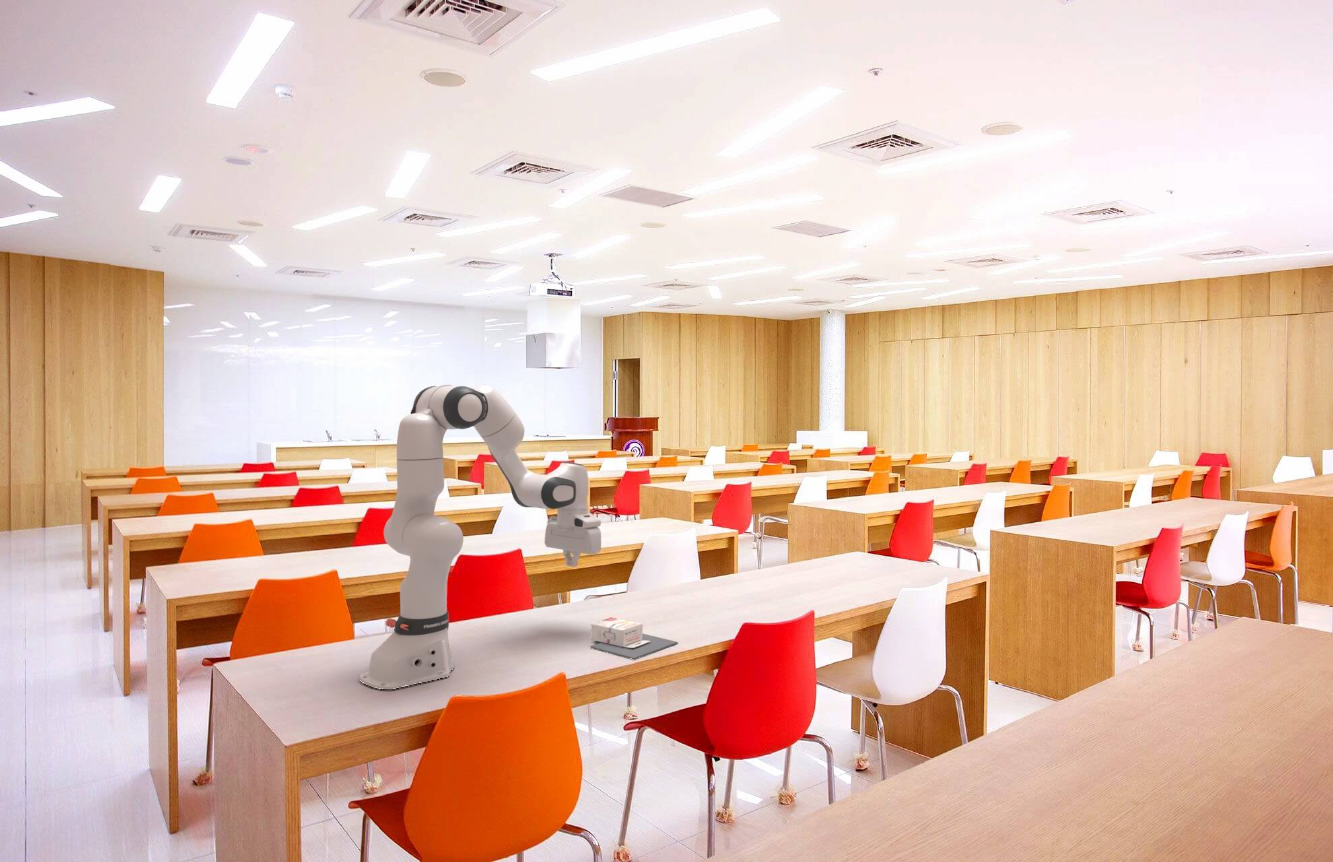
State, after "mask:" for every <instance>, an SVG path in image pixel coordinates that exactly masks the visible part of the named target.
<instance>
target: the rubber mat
mask: <svg viewBox="0 0 1333 862" xmlns="http://www.w3.org/2000/svg"><path fill="white" fill-rule="evenodd" d="M642 640H647V641H650V642H648V643H646V644H643V645H640V646H637V647H635V648H627V647H620V646H616V645H612V644H607V643H603V642H598V643H595V644H592V645H590V646H589V648H590V647H591V648H590V649H592V648H594V649H593V650H596V649H599V650H601V651H600V652H602V653H603V652H604V653H607V652H608V653H607V654H610V653H611V655H614V654H615V655H616V656H618V657H621V656H623V657H622V658H625V657H626V659H629V658H632V659H635V660H637V659H636V658H638V659H640V658H639V657H641V658H643V657H646V656H648V654H649V655H651V654H654V653H657V652H660V651H663V650H665V649H667V648H670V647H673V646H676V645H678V644H679V642H678V641H675V640H671V639H668V638H667V639H666V638H664V637H659V636H654V635H650V634H646V633H643V632H642ZM639 644H640V643H639ZM636 645H637V644H636ZM599 650H598V651H599ZM615 655H614V656H615ZM642 656H643V657H642ZM632 659H631V660H632Z"/></svg>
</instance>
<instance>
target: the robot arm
mask: <svg viewBox="0 0 1333 862" xmlns="http://www.w3.org/2000/svg"><path fill="white" fill-rule="evenodd" d="M473 427H474V428H475V431H476V432H477V433H478V434H479V436H480V437H481V439H482V440H483V442H484V443H485V445H486V446H487V448H488V450H489V453H490V455H491V457H492V458H493V460H494V462H495V463H496V464H497V466H498V467H499V469H500V471H501V472H502V474H503V475H504V477H505V479H506V481H507V483H508V484H509V488H510V491H511V495H512V498H513V500H514V501H515V503H516V504H518V505H519V506H521V507H522V508H536V509H541V510H543V509H544V510H557V511H556V512H557V513H556V515H551V516H550V517H549V518H547V522H546V523H547V525H546V527H545V533H544V545H545V546H546V548H552V549H557V550H562V554H563V557H564V559H565V566H567V567H572V568H576V567H577V566H578V561H579V558H580V557H581V556H582V555H581V554H585V555H586V554H587V555H596V554H599V553H600V551H601V550H602V532H601V529H600V528H599V527H601V525H602V521H601V519H600V518H599V517H597V516H595V515H594V514H592V513H591V512H589V505H588V500H587V499H588V496H589V476H588V475H589V474H588V470H587V468H586V466H584V465H583V464H581V463H578V462H577V463H576V462H570V461H569V462H568V461H564V462H560V465H559V466H558V467H557V468H556V469H554V470H553V471H551V472H549V473H547V474H543V473H536V472H533V471H531V470H530V469H528V468H527V467H526V465H525V464H524V463H523V461H522V459H521V458H520V456H519V455H518V453H517V451H516V449H517V448H518V447H519V446H520V444H521V443H522V442H523V440H524V436H525V426H524V424H523V422H522V420H521V419H520V417H519V415H518V414H517V413H516V411H515V410H514V408H513V407H512V406H511V405H510V403H508V401H507V400H506V399H505V398H504V396H502V395H501V394H500V392H498V391H497V390H496V389H495V388H494V387H493V386H490V385H486V384H482V385H477V386H475V387H474V388H472V387H468V386H464V385H461V386H460V385H459V386H458V385H452V384H443V385H442V384H440V385H431V386H428V387H426V388H424V389H422V390H420V391H419V392H418V393H417V395H416V396H415V399H414V401H413V404H412V408H411V410H410V414H408V415H406V416H404V417H403V418H402V419H401V421H400V422H399V425H398V430H397V431H398V432H397V437H396V483H397V484H396V485H397V486H396V487H397V488H396V495H395V496H396V497H395V501H394V506H393V510H392V514H391V516H390V517H389V518H388V520H387V521H386V523H385V525H384V528H383V537H384V540H385V542H386V544H387V545H388V546H389V547H390V548H392V550H394V551H395V552H397V553H399V554H401V555H404V556H408V557H409V558H410V562H409V567H408V571H407V574H406V576H405V577H404V578H403V579H402V581H401V583H400V585H399V600H400V602H399V603H400V606H399V608H400V610H399V611H400V613H399V615H398V617H397V619H394V618H391V617H389V618H386V621H385V626H386V627H389V628H391V629H392V628H394V629H393V632H392V633H391V634H390V635H389V636H388V637H387V638H386V639H385V640H384V641H383V642H382V643H381V644H380V645H379V646H378V647H377V648H376V649H375V650H374V651H373V652H372V654H371V656H370V660H369V666H368V671H365V672H362V673H361V674H359V678H360V680H361V681H362V682H364V683H365V684H367V685H370V686H372V687H377V688H381V689H382V688H383V689H393V688H397V687H402V686H405V685H411V684H414V683H419V682H426V683H428V682H427V681H430V682H432V681H431V680H434V681H438V680H437V679H439V680H441V679H440V678H443V679H446V678H445V677H447V676H449V677H450V675H451V672H452V671H453V670H454V669H455V663H454V661H453V658H452V654H451V648H450V642H449V635H448V634H449V633H448V631H449V626H450V618H449V615H450V614H449V611H448V610H447V609H448V608H447V607H448V606H447V604H448V601H447V598H448V596H447V595H448V577H449V574H450V569H451V566H452V563H453V561H454V559H455V557H457V556H458V554H459V553H461V550H462V548H463V545H464V534H463V531H462V529H461V527H460V526H459V525H458V524H456V522H453V521H452V520H450V519H449V518H447V517H445V516H439V515H435V509H436V504H437V502H438V501H437V500H438V498H439V496H440V494H441V493H442V492H443V491H444V489H445V469H444V468H445V466H444V448H443V446H444V445H443V441H444V437H445V434H446V432H447V431H448V430H467V429H469V428H473ZM453 668H454V669H453ZM451 670H452V671H451ZM447 678H448V677H447ZM360 680H359V681H360Z"/></svg>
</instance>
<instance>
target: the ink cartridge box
mask: <svg viewBox="0 0 1333 862" xmlns="http://www.w3.org/2000/svg"><path fill="white" fill-rule="evenodd" d="M590 625H591V640H592V641H594V642H598V643H601V642H603V643H607V644H612V645H616V646H620V647H627V648H635V647H637V646H640V645H643V644H646V643H648V642H650V641H647V640H642V633H643V623H640V622H634V621H630V620H626V619H621V618H616V617H609V618H605V619H602V620H599V621H596V622H592V623H591V624H590ZM639 643H640V644H639ZM636 644H637V645H636Z"/></svg>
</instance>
